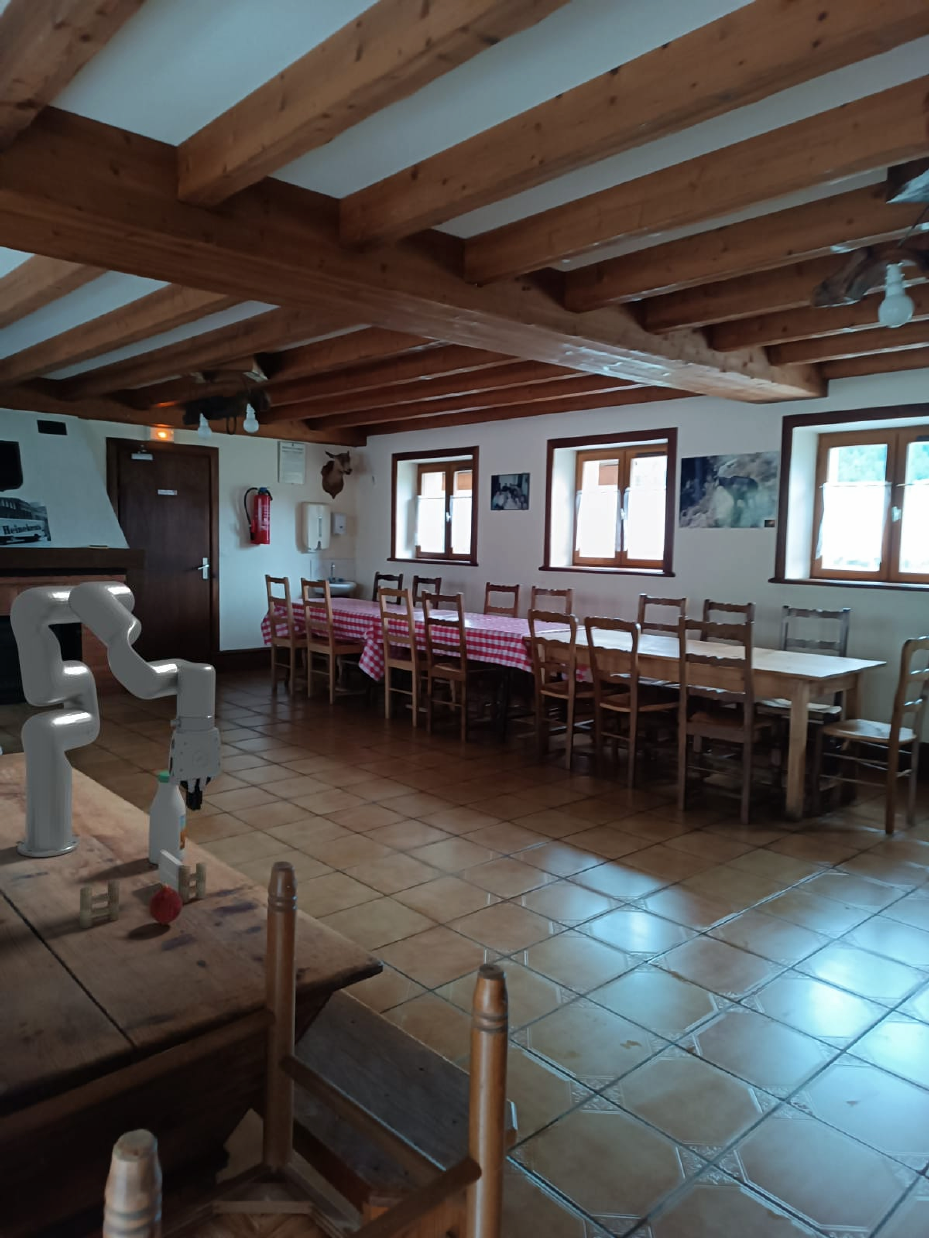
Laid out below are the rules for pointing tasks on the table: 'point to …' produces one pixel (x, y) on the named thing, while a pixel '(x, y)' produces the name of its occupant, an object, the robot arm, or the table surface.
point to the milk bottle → (167, 821)
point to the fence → (113, 895)
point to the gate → (169, 870)
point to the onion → (165, 905)
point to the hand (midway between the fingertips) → (193, 808)
